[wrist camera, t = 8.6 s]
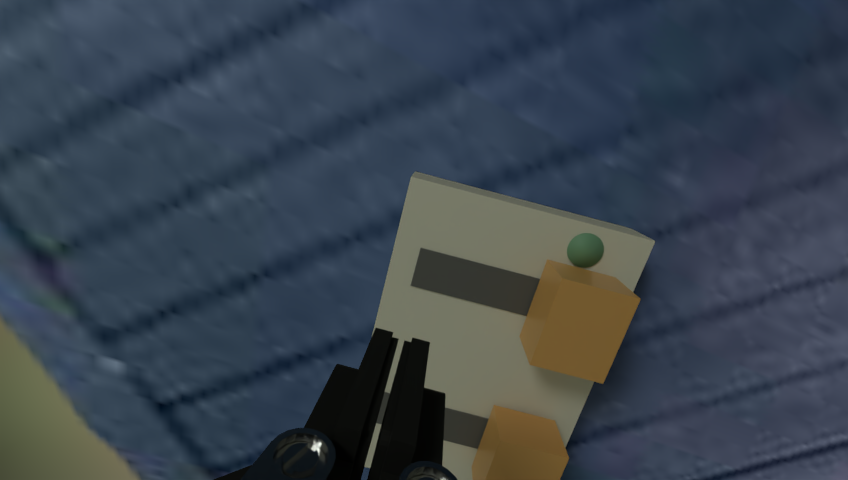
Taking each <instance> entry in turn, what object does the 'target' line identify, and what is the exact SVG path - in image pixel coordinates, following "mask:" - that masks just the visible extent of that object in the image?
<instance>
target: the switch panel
mask: <svg viewBox="0 0 848 480" xmlns="http://www.w3.org/2000/svg"><path fill="white" fill-rule="evenodd" d="M654 243H655V241H654V240H652V239H650V238H648V237H646V236H644V235H642V234H641V233H639V232H637V231H635V230H633V229H631V228H627V227H623V226H620V225H616V224H612V223H608V222H604V221H601V220H597V219H593V218H589V217H586V216H582V215H578V214H574V213H570V212H567V211H563V210H559V209H555V208H551V207H548V206H544V205H540V204H536V203H533V202H529V201H525V200H521V199H517V198H514V197H510V196H506V195H502V194H499V193H495V192H491V191H487V190H483V189H480V188H476V187H472V186H468V185H465V184H461V183H457V182H453V181H449V180H446V179H442V178H438V177H434V176H431V175H427V174H423V173H419V172H414V174H413V175H412V176H411V179H410V184H409V188H408V192H407V196H406V200H405V204H404V208H403V212H402V216H401V220H400V224H399V228H398V232H397V236H396V240H395V245H394V249H393V253H392V257H391V261H390V265H389V269H388V273H387V277H386V281H385V285H384V289H383V293H382V297H381V302H380V306H379V310H378V314H377V318H376V322H375V326H374V330H373V333H374V331H375V328H380V329H383V330H387V331H391V332H393V336H392V337H394V338H398V339H399V340H398V344H397V348H396V351H395V355H394V359H393V363H392V366H391V370H390V374H389V377H388V381H387V385H386V389H385V392H384V396H383V400H382V404H381V407H380V411H379V415H378V418H377V422H376V426H375V429H374V433H373V437H372V440H371V444H370V447H369V451H368V455H367V458H366V462H365V466H364V467H368V468H370V467H371V463H372V460H373V456H374V452H375V448H376V444H377V440H378V436H379V432H380V429H381V425H382V421H383V417H384V413H385V410H386V406H387V402H388V399H389V395H390V391H391V388H392V384H393V380H394V377H395V373H396V369H397V366H398V362H399V358H400V355H401V351H402V347H403V344H404V340H405V341H409V342H411V341H412V338H417V339H420V340H424V341H428V342H430V346H429V354H428V361H427V369H426V376H425V384H424V388H428V389H432V390H435V391H439V392H443V393H445V397H446V399H445V419H444V440H443V460H442V466H443V467H445V468H447V469H448V470H449V471H450V472H451V473H452V474H453V475H454V476H455V477H456V478H457V480H473V479H472V464H473V461H474V458H475V456H476V453H477V450H478V447H479V445H480V442H481V439H482V436H483V433H484V431H485V428H486V425H487V422H488V420H489V417H490V414H491V411H492V408H493V406H494V405H496V406H500V407H504V408H508V409H512V410H516V411H520V412H524V413H528V414H531V415H535V416H539V417H543V418H547V419H551V420H555V422H556V425H557V427H558V430H559V433H560V435H561V438H562V441H563V443H564V446H565V448H566V445H567V443H568V441H569V438H570V436H571V434H572V432H573V429H574V427H575V425H576V422H577V420H578V418H579V415H580V413H581V411H582V409H583V406H584V404H585V402H586V399H587V397H588V395H589V393H590V390H591V388H592V386H593V383H594V381H590V380H586V379H582V378H579V377H575V376H571V375H567V374H563V373H559V372H555V371H551V370H548V369H544V368H540V367H536V366H532V365H530V364H529V362H528V359H527V356H526V353H525V351H524V348H523V345H522V342H521V339H520V337H519V336H520V333H521V331H522V328H523V325H524V322H525V319H526V317H527V314H528V311H529V308H530V306H531V303H532V300H533V297H534V295H535V292H536V289H537V286H538V283H539V281H540V278H541V275H542V272H543V270H544V267H545V264H546V261H547V259H548V260H552V261H555V262H559V263H563V264H567V265H571V266H574V267H578V268H582V269H586V270H590V271H593V272H597V273H601V274H605V275H609V276H612V277H616V278H617V279H618V280H619V281H620V282H622V283H623V284H624V285H625V286H626V287H627V288H629V289H630V290H631V291H632V292H633V291H634V289H635V287H636V285H637V282H638V280H639V278H640V275H641V273H642V271H643V268H644V266H645V264H646V262H647V259H648V257H649V255H650V252H651V250H652V248H653V245H654ZM372 336H373V334H372Z"/></svg>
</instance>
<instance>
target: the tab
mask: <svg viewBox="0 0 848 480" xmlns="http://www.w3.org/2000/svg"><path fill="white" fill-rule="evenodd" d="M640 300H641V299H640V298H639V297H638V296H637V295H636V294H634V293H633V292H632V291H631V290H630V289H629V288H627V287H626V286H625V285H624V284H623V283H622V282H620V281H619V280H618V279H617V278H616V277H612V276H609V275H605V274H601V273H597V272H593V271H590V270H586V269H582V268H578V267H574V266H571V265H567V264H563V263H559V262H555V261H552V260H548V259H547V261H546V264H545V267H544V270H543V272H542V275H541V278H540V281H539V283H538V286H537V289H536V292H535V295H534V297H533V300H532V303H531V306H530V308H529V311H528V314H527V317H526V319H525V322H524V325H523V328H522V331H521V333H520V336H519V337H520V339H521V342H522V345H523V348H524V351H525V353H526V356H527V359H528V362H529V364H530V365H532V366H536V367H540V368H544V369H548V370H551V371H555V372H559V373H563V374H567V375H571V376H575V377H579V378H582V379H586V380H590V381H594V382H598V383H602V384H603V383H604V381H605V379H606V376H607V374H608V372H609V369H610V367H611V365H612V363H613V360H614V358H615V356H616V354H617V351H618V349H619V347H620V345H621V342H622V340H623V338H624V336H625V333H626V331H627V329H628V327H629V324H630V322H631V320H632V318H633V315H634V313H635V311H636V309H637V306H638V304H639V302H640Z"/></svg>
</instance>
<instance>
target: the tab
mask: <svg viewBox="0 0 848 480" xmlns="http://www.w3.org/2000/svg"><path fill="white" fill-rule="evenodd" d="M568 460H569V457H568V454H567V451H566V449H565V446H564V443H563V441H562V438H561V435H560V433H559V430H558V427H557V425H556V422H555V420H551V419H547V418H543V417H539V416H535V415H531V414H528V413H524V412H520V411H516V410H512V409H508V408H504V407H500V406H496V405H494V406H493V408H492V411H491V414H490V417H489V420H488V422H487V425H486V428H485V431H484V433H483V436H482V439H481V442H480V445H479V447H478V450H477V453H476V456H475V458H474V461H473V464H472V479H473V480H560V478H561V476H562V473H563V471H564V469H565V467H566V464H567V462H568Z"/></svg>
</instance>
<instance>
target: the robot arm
mask: <svg viewBox="0 0 848 480" xmlns="http://www.w3.org/2000/svg"><path fill="white" fill-rule="evenodd" d="M392 336H393V332H391V331H387V330H383V329H380V328H375V331H374V333H373V336H372V338H371V340H370V343H369V345H368V348H367V350H366V353H365V355H364V358H363V360H362V362H361V365H360V367H359V370H358V369H355V368H351V367H347V366H344V365H340V364H337V365H336V366H335V368H334V370H333V372H332V374H331V376H330V378H329V380H328V382H327V384H326V386H325V388H324V390H323V392H322V394H321V396H320V397H319V399H318V401H317V403H316V405H315V407H314V409H313V411H312V413H311V415H310V417H309V419H308V421H307V423H306V425H305V427H304V428H296V429H291V430H287V431H285V432H283V433H281V434H279V435H278V436H277V437H276V438H275V439H274V440H273V441H271V443H270V444H269V445H268V446H267V448H266V449H265V450H264V451H263V452H262V454H261V455H260V456H259V457H258V458H257V460H256V461H255V462H254V463H253V465H251V466H248V467H245V468H243V469H240V470H238V471H235V472H232V473H230V474H227V475H225V476H222V477H219V478H217V479H214V480H361V476H362V473H363V469H364V466H365V462H366V458H367V455H368V451H369V447H370V444H371V440H372V437H373V433H374V429H375V426H376V422H377V418H378V415H379V411H380V407H381V404H382V400H383V396H384V392H385V389H386V385H387V381H388V377H389V374H390V370H391V366H392V363H393V359H394V355H395V351H396V348H397V344H398V340H399V339H398V338H394V337H392ZM429 346H430V342H428V341H424V340H420V339H417V338H412V341H411V342H409V341H405V340H404V344H403V347H402V351H401V355H400V358H399V362H398V366H397V369H396V373H395V377H394V380H393V384H392V388H391V391H390V395H389V399H388V402H387V406H386V410H385V413H384V417H383V421H382V425H381V429H380V432H379V436H378V440H377V444H376V448H375V452H374V456H373V460H372V463H371V467H370V471H369V475H368V479H367V480H457V478H456V477H455V476H454V475H453V474H452V473H451V472H450V471H449V470H448V469H447V468H445V467H443V466H442V460H443V440H444V419H445V399H446V397H445V393H443V392H439V391H435V390H432V389H428V388H424V384H425V376H426V369H427V361H428V354H429Z"/></svg>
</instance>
